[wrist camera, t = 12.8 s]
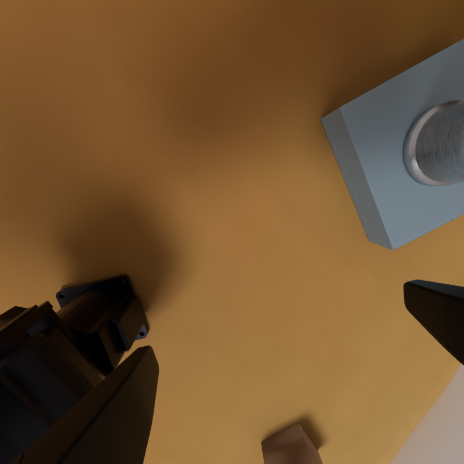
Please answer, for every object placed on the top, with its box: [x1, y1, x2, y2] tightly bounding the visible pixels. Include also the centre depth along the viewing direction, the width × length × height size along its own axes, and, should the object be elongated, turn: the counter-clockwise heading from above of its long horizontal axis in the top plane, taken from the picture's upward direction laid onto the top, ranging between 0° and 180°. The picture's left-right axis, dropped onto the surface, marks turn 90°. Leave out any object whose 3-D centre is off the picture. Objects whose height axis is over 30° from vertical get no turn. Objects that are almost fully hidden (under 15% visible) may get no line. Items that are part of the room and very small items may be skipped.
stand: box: [321, 39, 464, 250], centre depth 18 cm, size 12×12×3 cm
